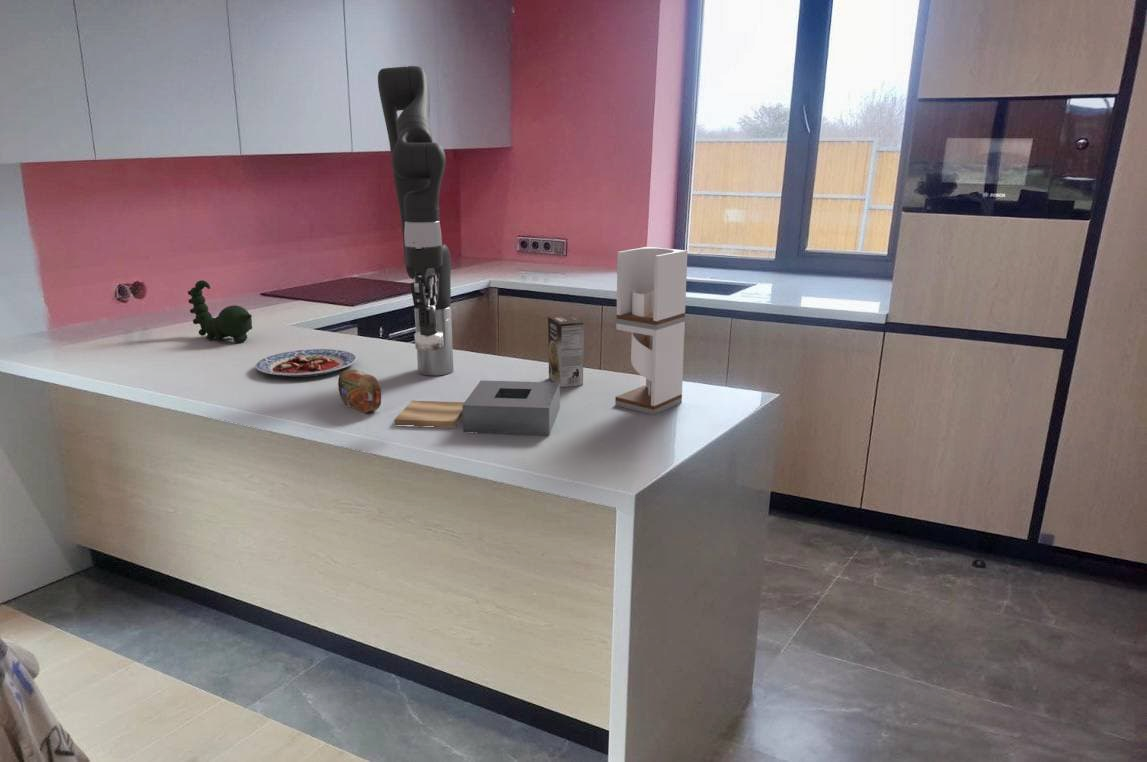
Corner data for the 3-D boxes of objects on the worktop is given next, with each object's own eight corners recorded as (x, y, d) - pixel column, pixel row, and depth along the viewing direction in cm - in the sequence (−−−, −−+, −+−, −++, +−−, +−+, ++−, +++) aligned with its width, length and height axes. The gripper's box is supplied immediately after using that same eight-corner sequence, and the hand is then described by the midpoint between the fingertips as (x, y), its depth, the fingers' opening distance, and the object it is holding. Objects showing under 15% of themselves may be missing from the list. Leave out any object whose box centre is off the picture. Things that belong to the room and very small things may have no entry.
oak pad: (412, 406, 185) (412, 400, 184) (468, 408, 184) (468, 402, 183) (394, 426, 172) (394, 419, 172) (454, 428, 171) (454, 421, 171)
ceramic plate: (328, 385, 202) (327, 373, 201) (235, 379, 207) (234, 368, 206) (373, 359, 226) (372, 348, 225) (289, 354, 231) (288, 344, 230)
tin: (338, 402, 189) (335, 367, 186) (350, 399, 191) (347, 364, 188) (372, 417, 178) (369, 380, 176) (385, 413, 180) (382, 377, 178)
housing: (481, 405, 186) (480, 380, 184) (559, 407, 184) (559, 382, 182) (463, 432, 168) (462, 405, 167) (549, 435, 167) (549, 407, 165)
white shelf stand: (643, 393, 194) (647, 246, 184) (681, 402, 188) (687, 250, 178) (615, 405, 186) (617, 251, 176) (653, 414, 179) (658, 256, 169)
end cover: (419, 343, 177) (416, 303, 174) (446, 343, 176) (443, 302, 174) (412, 350, 171) (409, 308, 168) (440, 350, 170) (437, 308, 168)
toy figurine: (188, 344, 249) (243, 346, 237) (176, 282, 244) (231, 282, 232) (214, 338, 257) (269, 339, 245) (203, 278, 252) (258, 277, 240)
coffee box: (547, 378, 207) (547, 316, 202) (571, 375, 209) (571, 314, 205) (559, 387, 199) (559, 323, 194) (584, 385, 201) (584, 321, 196)
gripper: (415, 239, 174) (419, 317, 179) (395, 247, 161) (400, 332, 166) (449, 239, 174) (453, 318, 178) (432, 248, 160) (436, 333, 165)
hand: (427, 324), depth 172 cm, fingers closed on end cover, 3 cm apart
